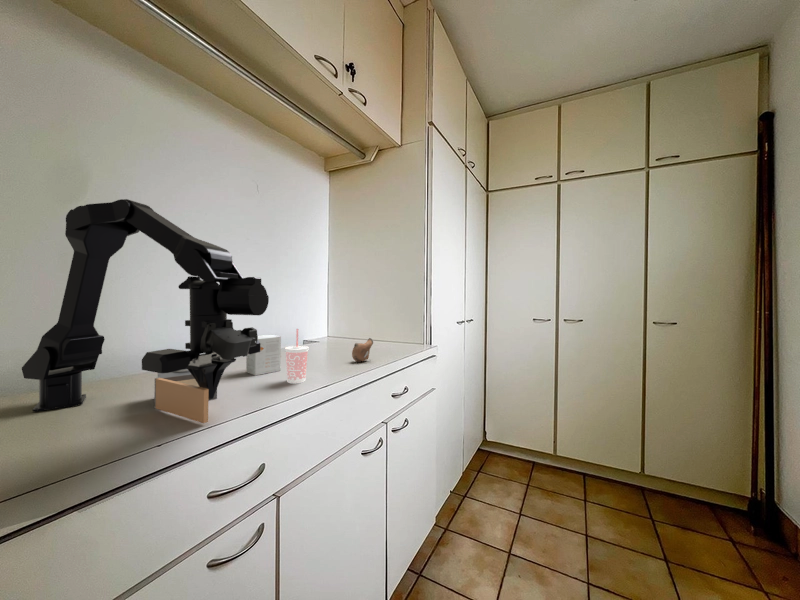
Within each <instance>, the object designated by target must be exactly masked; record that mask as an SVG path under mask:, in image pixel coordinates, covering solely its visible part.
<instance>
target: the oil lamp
mask: <svg viewBox="0 0 800 600" xmlns="http://www.w3.org/2000/svg"><path fill="white" fill-rule="evenodd" d="M373 344H374V341H373V339H372V338H371V337H369V338H368V340H366V341H365V343H358V342H355V343H354V346H353V348H352V351H351V357H352V359H353V360H354V361H355V362H357V363H361V361H362V362H364V361H367V360H369V359H370V358H369V357H370V350H371V348H372V346H373Z"/></svg>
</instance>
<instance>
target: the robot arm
mask: <svg viewBox="0 0 800 600" xmlns="http://www.w3.org/2000/svg"><path fill="white" fill-rule="evenodd" d="M139 232H141V234H142V233H143V234H144V235H145V236H147V237H148V238H150V239H152V240H153V241H154V242H156V243H157V244H159V245H160V246H162V247H163V248H165V249H166V250H168V251H169V252H170V253H171V254H172V255H173V259H174V261H175V263H176V264H178V265H179V266H180V268H181V269H183V271H184V272H185V273H187V275H190V276H187V278H186V279H185V280H184V281H182V282H181V283H179V284H178V289H179V290H189V319H188V320H186V319H185V320H184V326H185V327H189V342H185V344H184V346H185V347H184V349H186V350H183V349H176V348H175V349H174V348H166V349H159V350H153V351H147V352H146V353H145V354H144V355H143V357H142V359H141V370H142V371H146V372H152V373H157V374H158V373H170V372H174V371H178V370H183V369H186V368H187V369H188V370H189V372H190V373H191V374H192V376H193V377H194V378H195V380H196V382H197V383H198V385H199V387H202V388H206V389H209V396H208V399H211V400H214V399H213V397H214V395H215V392H216V389H217V390H218V386H219V383H220V382H221V379H222V376H223V374H224V372H225V370H226V369H227V368H228V367H229V366H230V365H231V364H233V363H235V362H236V361H237V358H239V357H246V356H247V355H248V354H254V353H258V352H260V351H261V349H260V342H259V341H258V336H259V335H258V329H257V328H254V327H244V328H242V329H239V330H237V329H234V324H233V320H232V319H230V318H227V317H228V316H227V315H230V316H231V315H232V316H261V315H263V314H264V313H266V310H267V309H268V306H269V298H270V297H269V295H268V292H267V288H266V287H265V286H264V285H263V283H262V278H261V277H257V276H247V277H244V276H243V274H242V273H241V272H240V271H239V269H238V268H237V265H236V264H235V263H234V262H233V255H232V253H231V252H230V251H229V250H227V249H225V248H223V247H221V246H218V245H216V244H213V243H211V242H208V241H205V240H202V239H199V238H196V237H195V236H193V235H191V234H190V233H188V232H186V231H185V230H184V229H182V228H181V227H179V226H178V225H176V224H174V223H173V222H171V221H170V220H168V219H167V218H165V217H164V216H162V215H161V214H159V213H158V212H156V211H155V210H154V209H153V208H152V207H150V205H147V204H144V203H141V202H137V201H134V200H131V199H127V198H125V199H117V200H114V201H112V202H100V203H99V202H98V203H88V204H84V205H79V206H76V207H75V208H74V209H70V210H69V211H68V212H67V214H66V217H65V233H64V234H65V235H64V236H65V237H66V239H67V241H68V242H69V244H70V246H71V247H72V249H73V254H72V258H71V259H72V260H71V264H70V268H69V272H68V276H67V280H66V284H65V290H64V294H63V298H62V303H61V308H60V311H59V312H60V313H59V315H58V316H59V317H58V319H57V322H56V324H54V325H53V326H52V327H51V328H50V329H49V330H47V331H46V332H45V333H44V334H43V335H42V336H41V338H40V341H39V344H38V346H37V348H36V350H35V352H34V353H33V354H32V355H31V356H30V357H29V358H28V360H27V361H26V362H25V363H24V364H23V366H21V371H22V375H23V378H24V379H27V380H38V381H39V382H38V383H39V385H38V387H39V391H38V392H39V396H38V397H39V401H38V403H36V405H35V406H34V407H33V408H32V412H36V413H37V412H41V411H47V410H55V409H56V410H57V409H62V408H68V407H73V406H76V407H77V406H82V405H83V403H84V402H85V400H86V398H87V394H86V393H84V394H82V393H83V391H82V389H83V387H82V386H83V385H82V382H83V381H82V379H83V378H82V377H83V373H82V372H87V371H93V370H95V369H96V365H97V363H98V359H99V356H100V355H102V354H103V350H102V349H103V345H104V342H105V340H106V339H105V336H104V335H101V334H99V332H98V330H97V329H96V327H95V321H96V318H97V317H96V316H97V313H98V308H99V305H100V299H101V296H102V291H103V287H104V283H105V279H106V274H107V270H108V266H109V262H110V259H111V257H112V256H114V255H115V254H117V252H119V251H120V250H121V249H122V248H123V247H124V245H125V242H126V240H127V238H128V237H129V236H131V235H134V234H138V233H139Z"/></svg>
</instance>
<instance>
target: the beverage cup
mask: <svg viewBox="0 0 800 600" xmlns="http://www.w3.org/2000/svg"><path fill="white" fill-rule="evenodd" d="M295 332H296V334H295V335H296V336H295V338H296V341H295V345H289V346H286V347H284V352H285V358H286V359H285V361H286V381H287V383H289V384H294V385H295V384H301V383H305V382H306V377H307V367H308V366H307V365H308V355H309V354H308V352H309V349H310V347H309V346H307V345H299V328H296V331H295ZM304 381H305V382H304Z"/></svg>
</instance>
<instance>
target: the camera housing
mask: <svg viewBox="0 0 800 600" xmlns="http://www.w3.org/2000/svg"><path fill="white" fill-rule="evenodd" d="M157 378H163V379H168V380H172V381H176V382H181V383H185V384H189V385H193V386H198V387H199V385H198V383H197V382H196V380H195V378H194V377H193V376H192V374H191V373H190V372H189V370H188V369H187V368H186V369H183V370H178V371H174V372H170V373H157ZM215 399H218V388H217V389H216V392H215V395H214V397H213V399H212V400H215ZM209 400H210V399H208V401H209Z"/></svg>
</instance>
